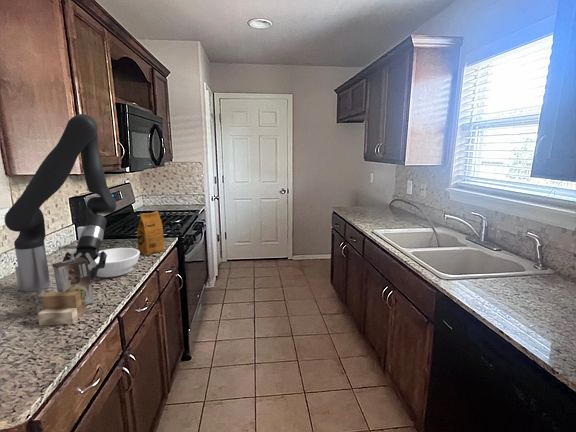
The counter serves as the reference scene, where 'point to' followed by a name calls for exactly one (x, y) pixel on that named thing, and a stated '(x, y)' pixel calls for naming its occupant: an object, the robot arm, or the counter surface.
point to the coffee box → (74, 278)
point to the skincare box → (79, 231)
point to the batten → (57, 316)
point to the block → (64, 301)
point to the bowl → (117, 262)
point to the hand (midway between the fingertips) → (79, 279)
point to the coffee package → (150, 233)
